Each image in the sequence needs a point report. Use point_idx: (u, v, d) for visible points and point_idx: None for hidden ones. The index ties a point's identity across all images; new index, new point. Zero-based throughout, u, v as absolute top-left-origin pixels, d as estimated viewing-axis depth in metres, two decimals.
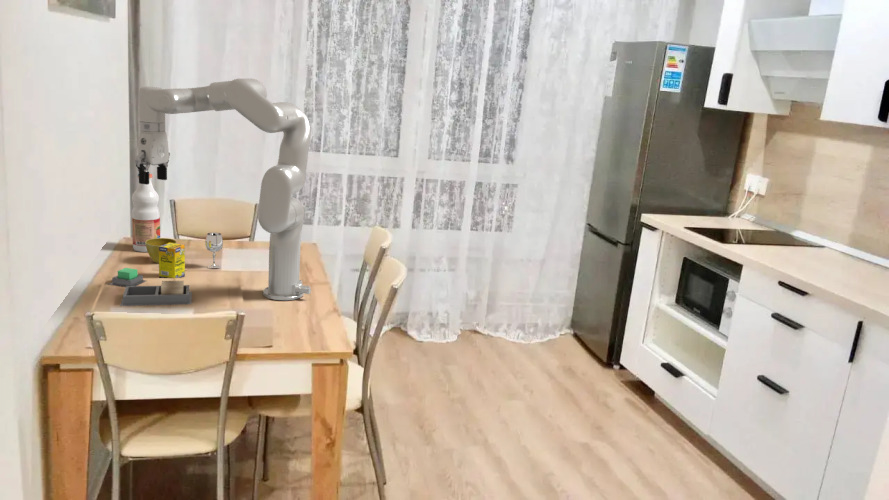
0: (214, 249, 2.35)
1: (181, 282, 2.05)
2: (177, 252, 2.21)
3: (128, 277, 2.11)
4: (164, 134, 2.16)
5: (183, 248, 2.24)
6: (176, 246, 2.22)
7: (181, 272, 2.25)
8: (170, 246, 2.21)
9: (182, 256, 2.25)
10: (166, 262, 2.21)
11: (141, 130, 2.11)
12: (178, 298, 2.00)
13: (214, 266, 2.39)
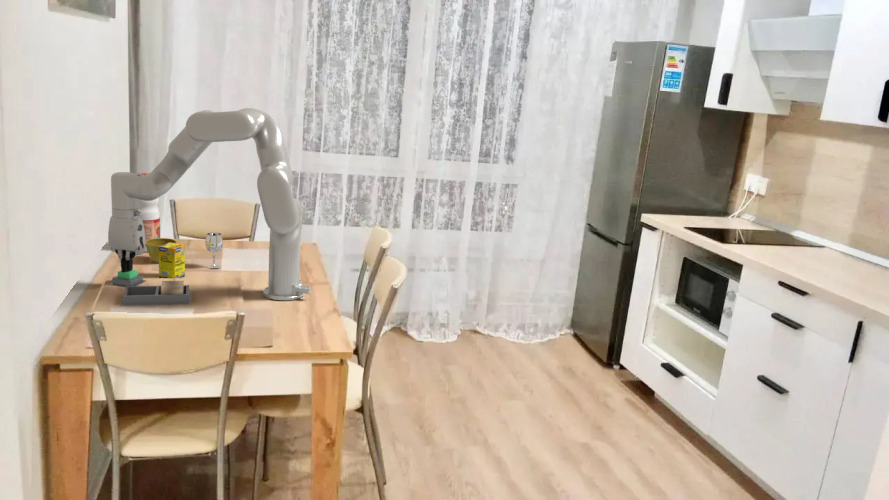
0: (214, 249, 2.35)
1: (181, 282, 2.05)
2: (177, 252, 2.21)
3: (128, 278, 2.11)
4: None
5: (183, 248, 2.24)
6: (176, 246, 2.22)
7: (181, 272, 2.25)
8: (170, 246, 2.21)
9: (182, 256, 2.25)
10: (166, 262, 2.21)
11: (132, 218, 2.06)
12: (178, 298, 2.00)
13: (214, 266, 2.39)
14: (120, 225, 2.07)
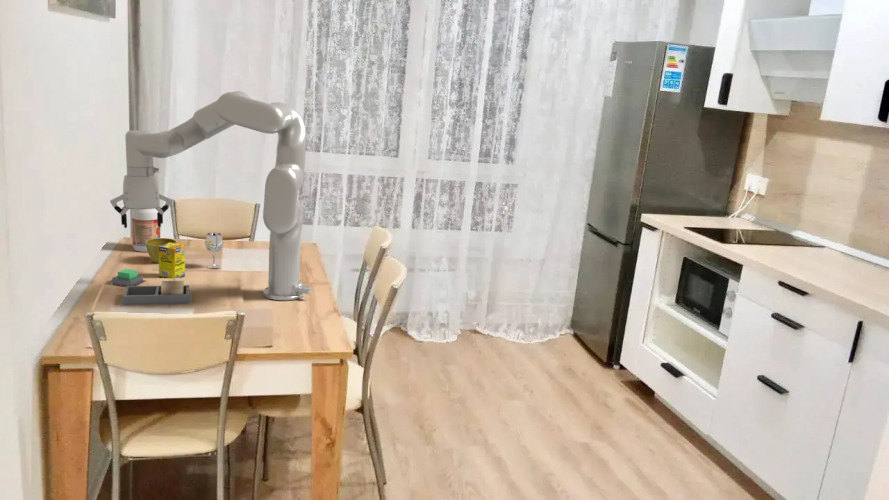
0: (214, 249, 2.35)
1: (181, 282, 2.05)
2: (177, 252, 2.21)
3: (128, 278, 2.11)
4: None
5: (183, 248, 2.24)
6: (176, 246, 2.22)
7: (181, 272, 2.25)
8: (170, 246, 2.21)
9: (182, 256, 2.24)
10: (166, 262, 2.21)
11: (153, 175, 2.09)
12: (178, 298, 2.00)
13: (214, 266, 2.39)
14: (140, 184, 2.07)
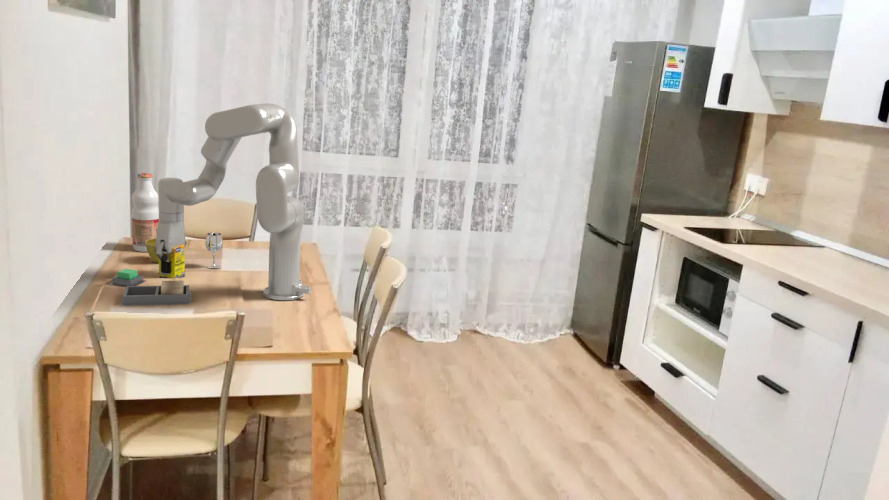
0: (214, 249, 2.35)
1: (181, 282, 2.05)
2: (177, 252, 2.21)
3: (128, 278, 2.11)
4: None
5: (183, 248, 2.24)
6: None
7: (181, 272, 2.25)
8: None
9: (182, 256, 2.24)
10: None
11: None
12: (178, 298, 2.00)
13: (214, 266, 2.39)
14: (178, 228, 2.20)
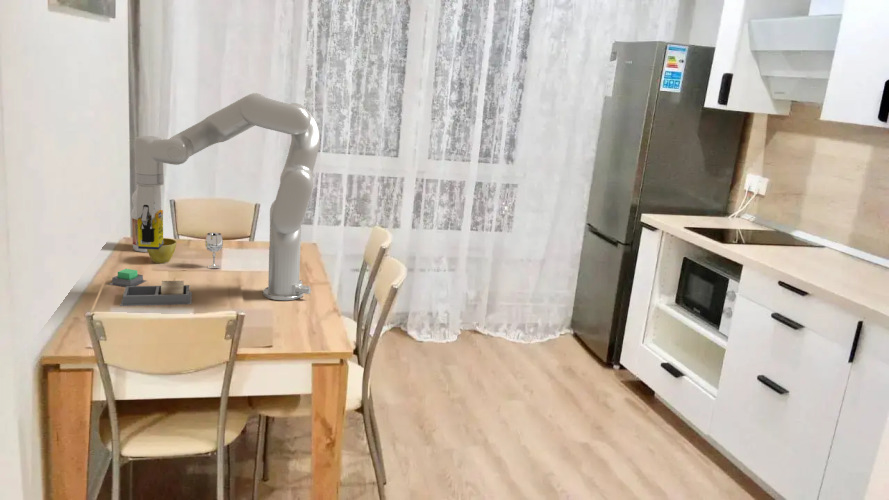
0: (214, 249, 2.35)
1: (181, 282, 2.05)
2: (159, 217, 2.02)
3: (128, 278, 2.11)
4: None
5: (162, 213, 2.05)
6: None
7: (161, 240, 2.06)
8: None
9: (162, 223, 2.05)
10: None
11: None
12: (178, 298, 2.00)
13: (214, 266, 2.39)
14: (158, 191, 2.01)
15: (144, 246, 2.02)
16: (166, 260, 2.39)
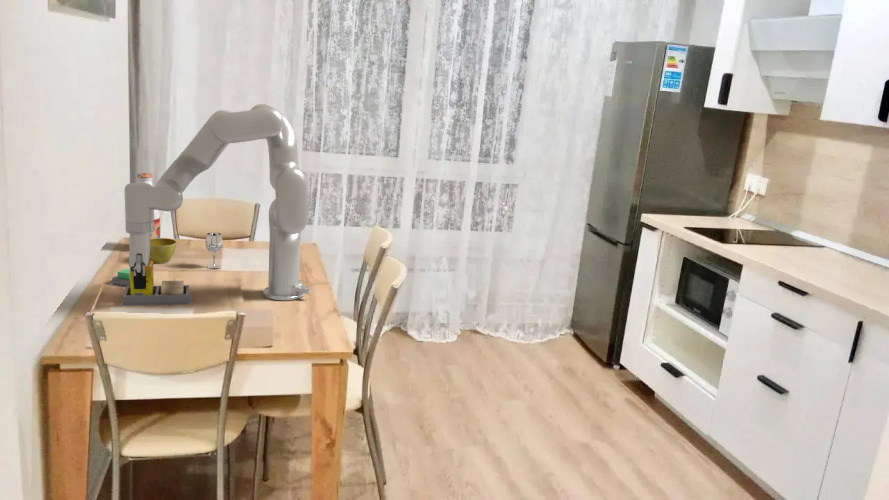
0: (214, 249, 2.35)
1: (181, 282, 2.05)
2: (152, 269, 1.99)
3: (128, 278, 2.11)
4: None
5: None
6: (148, 263, 1.99)
7: (153, 291, 2.03)
8: None
9: None
10: None
11: None
12: (178, 298, 2.00)
13: (214, 266, 2.39)
14: (149, 238, 1.97)
15: None
16: (166, 260, 2.39)
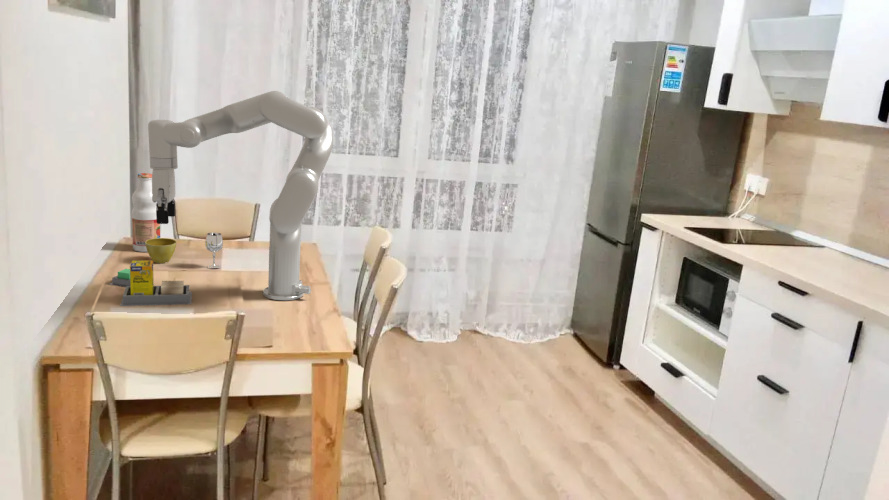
0: (214, 249, 2.35)
1: (181, 282, 2.05)
2: (152, 269, 1.99)
3: (128, 278, 2.11)
4: None
5: None
6: (148, 263, 1.99)
7: (153, 291, 2.03)
8: (142, 264, 1.98)
9: None
10: (141, 282, 1.97)
11: None
12: (178, 298, 2.00)
13: (214, 266, 2.39)
14: (173, 175, 2.02)
15: None
16: (166, 260, 2.39)
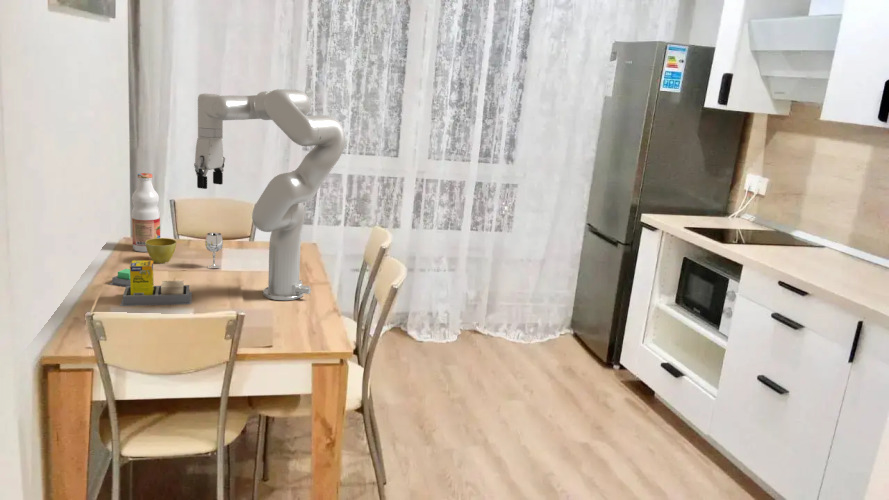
0: (214, 249, 2.35)
1: (181, 282, 2.05)
2: (152, 269, 1.99)
3: (128, 278, 2.11)
4: None
5: None
6: (148, 263, 1.99)
7: (153, 291, 2.03)
8: (142, 264, 1.98)
9: None
10: (141, 282, 1.97)
11: None
12: (178, 298, 2.00)
13: (214, 266, 2.39)
14: (217, 145, 2.20)
15: None
16: (166, 260, 2.39)
